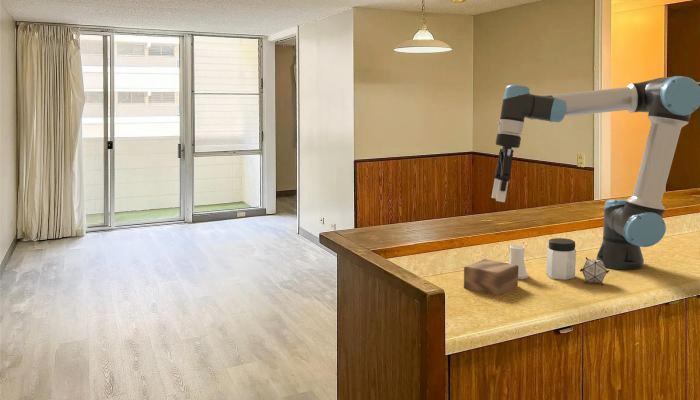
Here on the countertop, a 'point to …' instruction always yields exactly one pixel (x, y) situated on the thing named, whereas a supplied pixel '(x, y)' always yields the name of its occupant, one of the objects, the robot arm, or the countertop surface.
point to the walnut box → (491, 277)
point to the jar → (561, 259)
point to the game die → (594, 270)
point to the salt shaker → (518, 260)
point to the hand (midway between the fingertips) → (497, 200)
